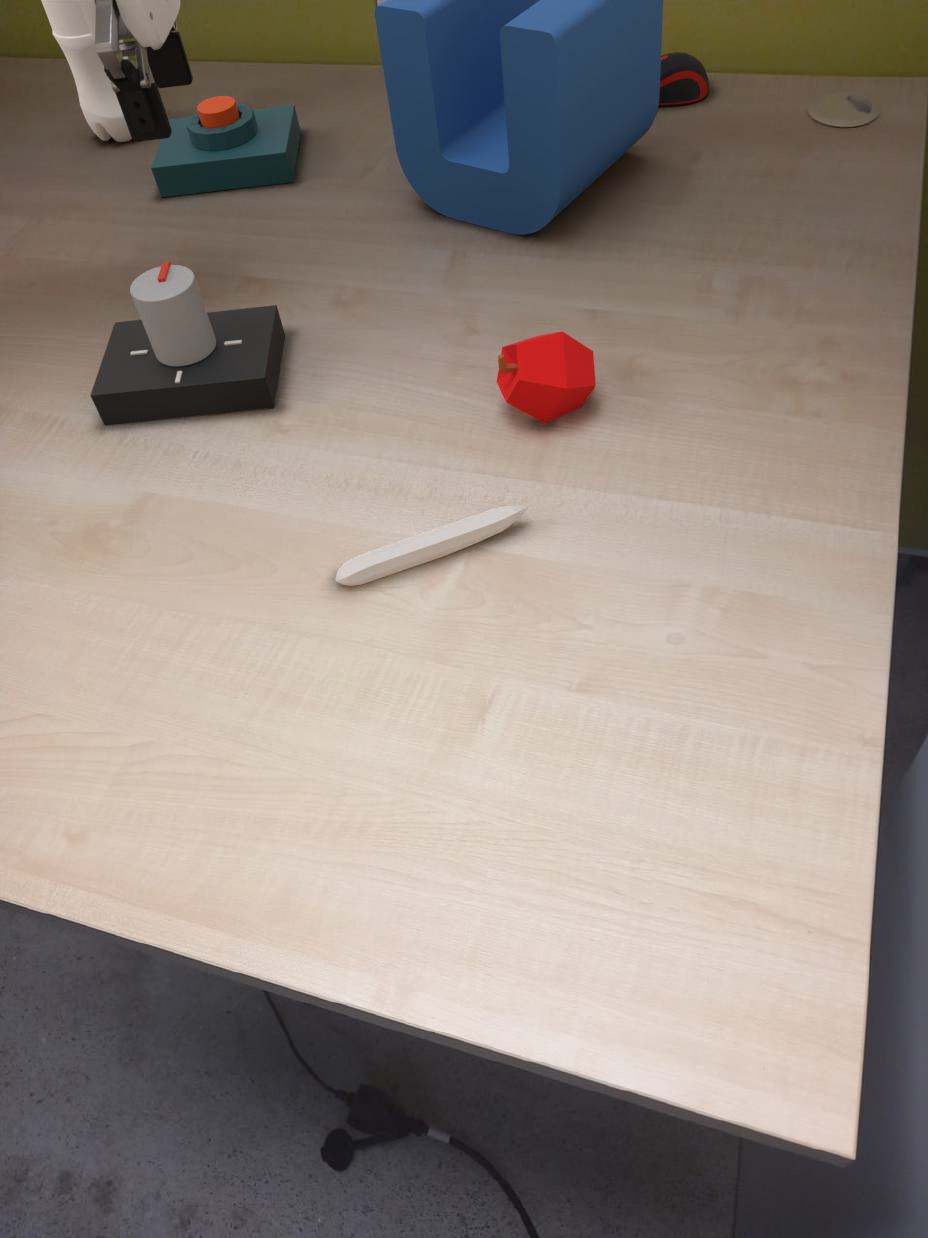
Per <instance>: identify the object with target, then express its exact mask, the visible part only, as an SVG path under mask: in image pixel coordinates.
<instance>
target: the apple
mask: <svg viewBox="0 0 928 1238" xmlns="http://www.w3.org/2000/svg"><path fill="white" fill-rule="evenodd" d="M594 356H595V355H594V351H593V350H592V349H590V348H589V347H588V346H586V345H584V344H583V343H582V342H580V341H579V340H577V339H576V338H573V337H572V336H571V335H569V334H567V333H566V332H565V331H557V332H556V331H555V332H551V333H545V334H540V335H536V336H533V337H529V338H526V339H523V340H520V341H517V342H513V343H510V344H507V345H504V346H502V347H501V352H500V354H499V355H497V361H498V370H497V376H496V384H497V386H498V388H499V391H500V392H501V395H502V397H503V399H504V402H505V403H506V404H508V405H509V406H511V407H513V408H515V409H517V410H518V411H520V412H522V413H524V414H525V415H527V416H528V417H529V416H530V417H531V418H533V419H535V420H537V421H538V422H540V423H542V424H544V425H545V424H548V423H550V422H553V421H554V420H557V419H559V418H561V417H563V416H565V415H568V414H570V413H573V412H574V411H577V410H579V409H581V408H583V406H584V404H585V402H586V401H587V399H588V398H589V397H590V395H591V394H592V392H593V391H594V390H595V387H596V386H597V383H596V371H595V370H596V369H595V357H594Z"/></svg>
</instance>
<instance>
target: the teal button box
mask: <svg viewBox="0 0 928 1238" xmlns="http://www.w3.org/2000/svg"><path fill="white" fill-rule="evenodd" d="M236 105H237V109H238V113H239V117H240V119H239V120H237V121H236V122H235V123H233V124H230V125H227V126H225V127H221V128H212V129H210V128H204V127H202V124H201V121H200V118H199V114H198V111H196V112H195V113H194V114H192V115H191V116H188V117H180V118H171V119H168V120H169V123H170V126H171V129H172V133H171V136H170V137H169V138H165V139H160V141H159V145H158V147H157V150H156V153H155V156H154V159H153V161H152V164H151V167H150V169H151V172H152V175H153V178H154V181H155V184H156V188H157V189H158V193H159V195H160V197H161V198H167V197H177V196H185V195H194V194H195V195H196V194H203V193H212V192H220V191H229V190H236V189H237V190H239V189H247V188H255V187H264V186H271V185H272V186H273V185H281V184H289V183H290V184H291V183H293V182H294V176H295V171H296V165H297V159H298V153H299V147H300V141H301V136H302V131H301V127H300V123H299V119H298V118H299V117H298V114H297V110H296V105H295V104H288V105H278V106H271V107H263V108H262V107H261V108H254V109H253V108H251V106H249V105H247V104H246V103H239V102H236Z"/></svg>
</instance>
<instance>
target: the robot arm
mask: <svg viewBox="0 0 928 1238" xmlns="http://www.w3.org/2000/svg"><path fill="white" fill-rule="evenodd" d="M79 2H80V5H81V8H82V11H83V13H84V16H85V19H86V22H87V24H88V27H89V29H90V32H91V34H92V37H93V39H94V41H95V49H96V52H97V54H98V56H99V58H100V60H101V61H102V63H103V65H104V66H105V67H104V71H105V73H106V76H108V78H109V79H110V83H111V87H112V89H113V91H114V92H115V93H116V96H117V99H118V102H119V104H120V107H121V110H122V113H123V116H124V118H125V121H126V124H127V127H128V129H129V132H130V135H131V138H132V139H131V140H132V141H134V142H138V143H139V142H146V141H153V140H154V141H155V140H161V139H165V138H169V137H170V136H171V133H172V129H171V126H170V123H169V120H170V119H169V118H168V114H167V111H166V109H165V106H164V102H163V99H162V97H161V93H160V90H159V89H165V88H175V87H182V86H183V87H184V86H190V85H192V83H193V81H194V76H193V73H192V70H191V67H190V64H189V63H190V62H189V60H188V57H187V54H186V50H185V45H184V43H183V41H182V36H181V34H180V31H178V21H177V17H178V15H179V12H180V10H181V0H79ZM131 39H134V40H131ZM120 40H123V42H122V43H119V41H120ZM124 40H130V41H124ZM126 56H127V57H133V56H135V61H136V66H135V65H134V64H133V63H132V61H131V60H130V59H129V58H128V59H129V60H128V59H123V57H126ZM150 72H151V73H150ZM151 75H152V78H153V81H154V82H152V80H151Z"/></svg>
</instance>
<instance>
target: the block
mask: <svg viewBox="0 0 928 1238" xmlns="http://www.w3.org/2000/svg"><path fill="white" fill-rule="evenodd" d="M663 16H664V0H385V1H383V2H382V3H380V4H379V5H377V6H376V7H375V8H374V19H375V26H376V33H377V38H378V39H377V40H378V46H379V51H380V57H381V64H382V70H383V76H384V81H385V88H386V95H387V102H388V109H389V114H390V120H391V127H392V134H393V139H394V146H395V152H396V156H397V160H398V163H399V165H400V167H401V171H402V172H403V174H404V176H405V179H406V180H407V181H408V182H407V183H409V186H411V188H412V190H414V192H415V193H416V195H417V196H418V197H419V198H420V199H421V200H422V201H423V202H424V203H425V204H426V205H428V207H430V208H431V209H433V210H434V211H436V212H437V213H439V214H441V215H443V216H445V217H447V218H450V219H453V220H458V221H461V222H464V223H468V224H472V225H476V226H479V227H484V228H488V229H490V230H491V229H492V230H495V231H498V232H503V233H507V234H511V235H518V236H520V235H530V234H533V233H536V232H538V231H540V230H541V229H543V228H545V227H546V226H547V225H548V224H549V223H550V222H551V221H552V220H554V219H555V218H556V217H557V216H558V215H559V214H560V213H561V212H562V211H563V210H565V208H567V206H568V205H570V204H571V203H572V202H573V201H574V200H575V199H577V197H579V195H580V194H582V193H583V192H584V191H585V190H586V189H587V188H588V187H589V186H591V185H592V184H593V183H594V182H595V181H596V180H597V179H598V178H599V177H600V176H602V175H603V173H605V172H606V171H607V170H608V169H609V168H610V167H612V165H613V164H615V162H617V161H618V160H619V159H620V158H621V157H622V156H624V154H625V153H627V152H628V151H629V150H630V149H631V148H633V146H634V145H636V143H637V142H639V141H640V140H641V139H642V138H643V137H644V136H645V135H646V134H647V133H648V132H649V131H650V129H651V126H652V125H653V123H654V122H655V119H656V117H657V115H658V110H659V107H658V106H659V96H660V71H661V56H662V41H663Z"/></svg>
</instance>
